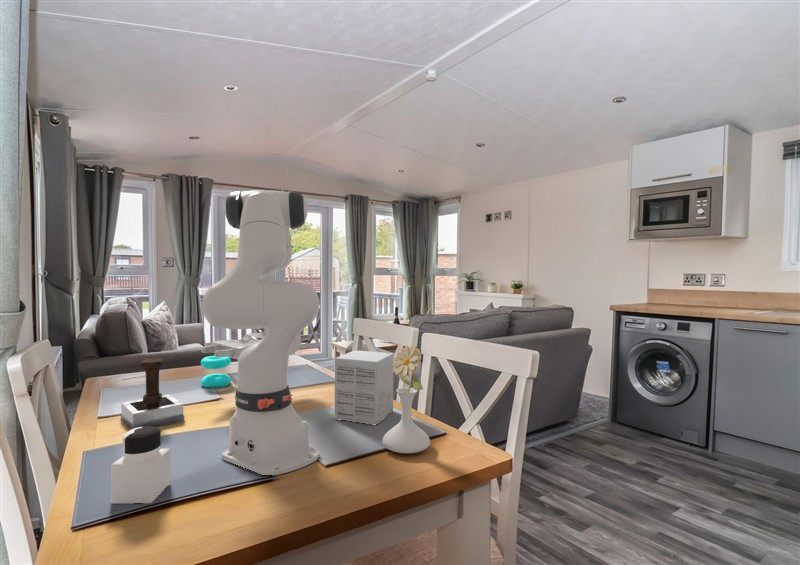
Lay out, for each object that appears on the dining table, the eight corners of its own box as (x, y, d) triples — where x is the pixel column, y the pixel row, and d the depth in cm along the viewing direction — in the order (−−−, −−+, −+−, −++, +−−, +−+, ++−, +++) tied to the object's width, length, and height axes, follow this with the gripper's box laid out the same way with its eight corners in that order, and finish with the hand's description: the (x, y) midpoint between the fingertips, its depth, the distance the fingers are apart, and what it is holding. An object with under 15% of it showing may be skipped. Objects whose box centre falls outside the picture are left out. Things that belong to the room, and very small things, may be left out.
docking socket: (184, 421, 118) (184, 404, 118) (134, 432, 110) (134, 414, 110) (167, 408, 128) (167, 393, 128) (120, 418, 120) (120, 402, 119)
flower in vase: (375, 442, 105) (376, 340, 104) (418, 436, 109) (420, 338, 108) (394, 465, 93) (395, 349, 92) (441, 457, 97) (443, 346, 96)
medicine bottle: (171, 484, 84) (171, 423, 83) (151, 504, 77) (151, 437, 76) (133, 484, 83) (133, 423, 83) (110, 504, 76) (109, 437, 76)
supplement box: (353, 406, 133) (354, 349, 132) (393, 411, 129) (394, 352, 128) (333, 420, 120) (333, 357, 120) (376, 426, 116) (377, 361, 115)
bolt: (168, 411, 121) (168, 358, 120) (156, 417, 116) (156, 362, 115) (149, 410, 122) (148, 357, 121) (136, 416, 117) (135, 361, 116)
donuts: (235, 357, 154) (206, 361, 148) (235, 385, 155) (206, 390, 148) (225, 353, 162) (196, 357, 155) (225, 380, 162) (196, 384, 155)
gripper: (238, 334, 146) (195, 338, 136) (268, 340, 131) (222, 345, 121) (238, 353, 146) (195, 358, 136) (268, 361, 131) (222, 367, 121)
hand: (208, 352), depth 129 cm, fingers open, 8 cm apart
